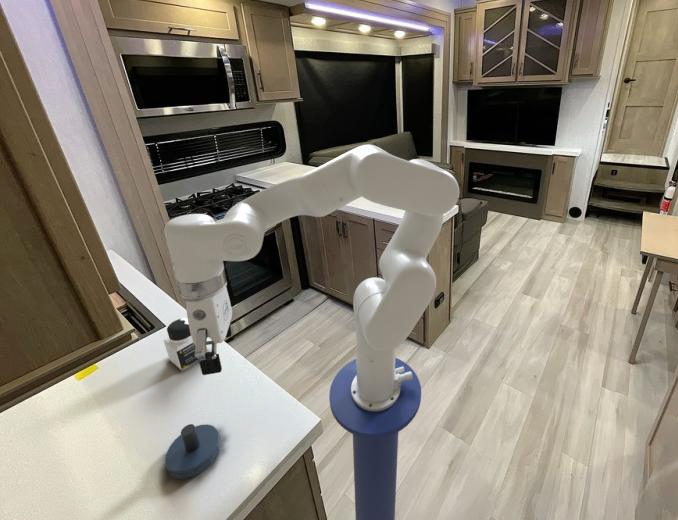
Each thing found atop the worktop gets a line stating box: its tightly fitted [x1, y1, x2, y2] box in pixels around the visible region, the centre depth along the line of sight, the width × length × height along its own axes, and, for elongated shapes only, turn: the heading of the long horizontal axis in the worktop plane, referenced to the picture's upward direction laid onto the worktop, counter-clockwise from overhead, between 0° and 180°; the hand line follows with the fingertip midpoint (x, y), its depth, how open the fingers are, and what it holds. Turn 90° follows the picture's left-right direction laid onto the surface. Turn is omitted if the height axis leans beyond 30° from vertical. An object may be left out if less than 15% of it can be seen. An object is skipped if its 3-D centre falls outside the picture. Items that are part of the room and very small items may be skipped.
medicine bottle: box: [163, 317, 209, 371], centre depth 88 cm, size 7×7×12 cm
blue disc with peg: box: [164, 423, 222, 480], centre depth 65 cm, size 9×9×7 cm
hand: (218, 353), depth 64 cm, fingers open, 9 cm apart
